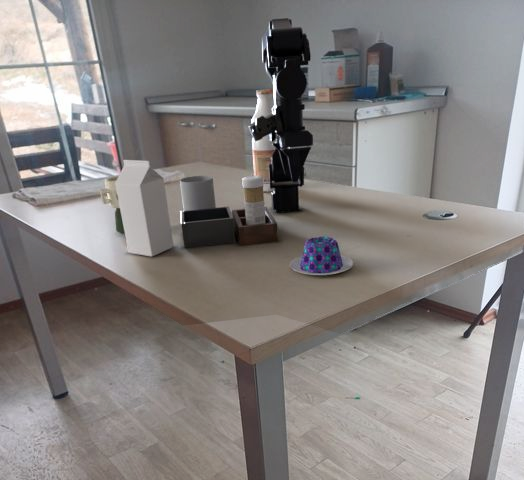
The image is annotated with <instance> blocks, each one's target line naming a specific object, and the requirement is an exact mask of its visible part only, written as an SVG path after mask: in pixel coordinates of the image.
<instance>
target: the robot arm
mask: <svg viewBox="0 0 524 480" xmlns="http://www.w3.org/2000/svg"><path fill="white" fill-rule="evenodd" d="M292 21H293V20H292V19H291V18H289V17H285V18H272V19H271V20H269V21H268V29H267V30H266V31H265V32H264V34H263V35H262V37H261V57H262V64H265V73H266V74H267V76H268V77H269V79H270V81H271V83H272V89H273V103H274V106H273V107H272V114H271V115H268V116H266V117H264V116H261V117H259V118H256V121H255V122H254V123H252V124H251V123H249V124H248V125H247V127H248V129H249V132H250V134H251V136H252V139H254V140H255V141H258V140H261V139H262V138H263V137H264V136H267V135H270V141H274V140H275V142H273V143H271V144H272V145H273V146H274V147H275V150H274V152H273V154H272V157H271V164H269V184H270V189H272V188H273V191H270V195H271V208H272V209H273V211H275V213H276V214H281V213H282V214H283V213H291V212H299V211H301V207H300V198H299V197H300V195H299V187H300V188H301V187H303V186H304V185H305V163H306V161H307V158H308V155H309V153H310V151H311V150H312V146H314V135H313V134H312V133H311V132H310V131H309V130H308V129H306V126H305V125H304V115H303V114H304V110H305V108H306V107H305V106H306V105H305V104H304V103H303V95H304V93H305V91H306V89H307V85H308V80H307V76H306V74H305V72H304V71H303V70H302V67H301V66H309V62H311V57H312V56H311V55H312V54H311V47H310V40H309V39H308V38H307V37H308V36H307V33H304V31H303V28H302V26H296V27H295V26H294V27H293V22H292ZM272 181H274V182H272Z"/></svg>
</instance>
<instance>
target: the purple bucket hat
mask: <svg viewBox="0 0 524 480" xmlns="http://www.w3.org/2000/svg"><path fill="white" fill-rule="evenodd" d="M353 265H354V261H353V259H351V258H350V257H348V256H345V255H342V254H341V251H340V246H339V243H338V241H337V240H336V239H334V238H333V237H330V236H315V237H311V238H309V239H307V240H306V242H305V243H304V246H303V251H302V255H301V256H299V257H296V258H294V259H293V260H291V261H290V263H289V267H290V268H291V269H292V270H293V271H295V272H297V273H300V274H304V275H311V276H328V275H329V276H330V275H335V274H339V273H342V272H346V271H348V270H350V269H351V268H352V267H353Z"/></svg>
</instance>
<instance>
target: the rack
mask: <svg viewBox="0 0 524 480" xmlns="http://www.w3.org/2000/svg"><path fill="white" fill-rule="evenodd" d="M264 208H265V224H256V225H247V224H246V215H245V208H239V209H231V214H232V216H233V219H234V231H235V236H236V237H237V240H238V244H239V245H240V246H244V245H245V246H246V245H247V246H248V245H256V244H266V243H267V244H268V243H276V242H277V243H278V242H279V230H278V229H279V227H278V222H277V221H276V219H275V217H274V216H273V215H272V213H271V212H270V210H269V209H268V207H267V206H264Z"/></svg>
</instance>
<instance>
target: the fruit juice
mask: <svg viewBox="0 0 524 480" xmlns="http://www.w3.org/2000/svg"><path fill="white" fill-rule="evenodd" d="M255 91H256V97H257V104H256V107H255V108H256V109H255V112H254V114H253V116H252V117H251V121H250V124H252V123H254V122H255V121H256V118H259V117H261V116H264V117H266V116H268V115H271V114H272V107H273V106H274V94H273V88H265V89H257V90H255ZM273 142H275V140H274V141H270V135H267V136H264V137H263V138H262V139H261V140H258V141H255V140H254V139H253V138H252V139H251V151H252V163H253V165H252V167H253V176H255V175H256V176H262V177H263V182H264V185H263V192H273V188H272V189H270V184H269V164H271V157H272V154H273V152H274V150H275V147H274V146H273V145H272V144H271V143H273ZM272 182H274V181H272Z"/></svg>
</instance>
